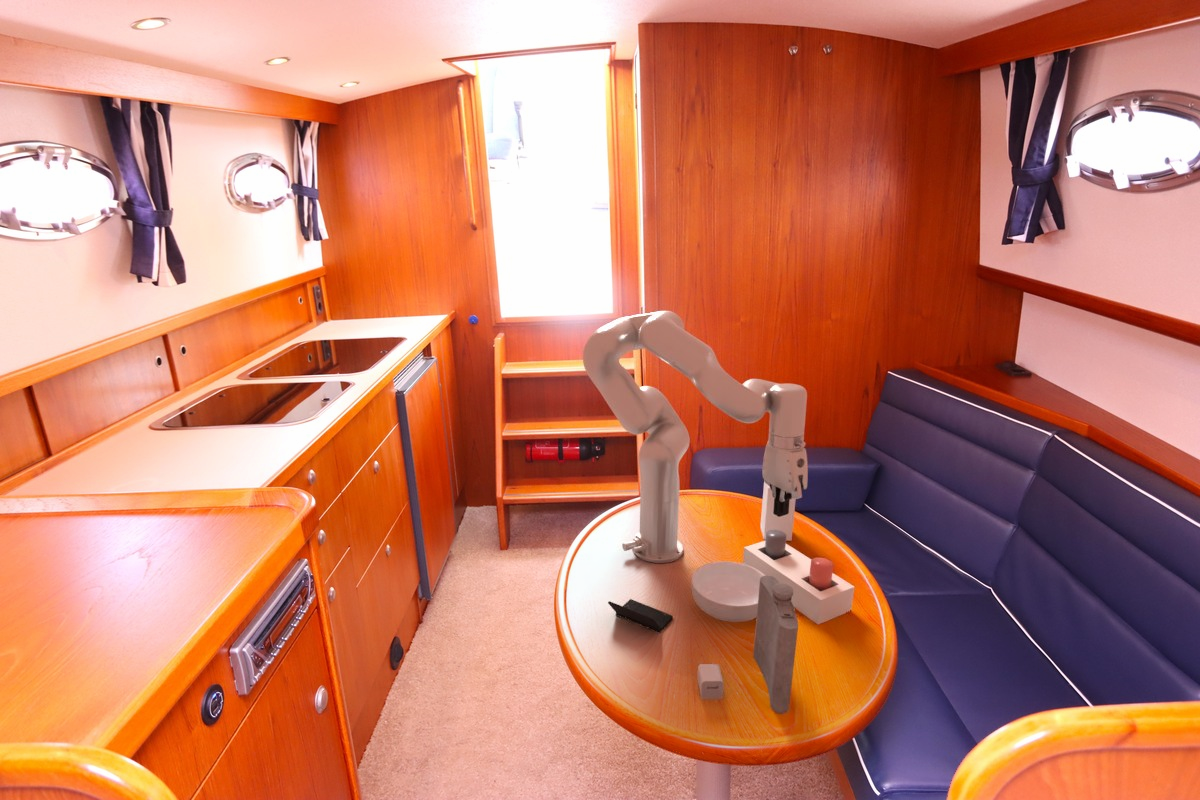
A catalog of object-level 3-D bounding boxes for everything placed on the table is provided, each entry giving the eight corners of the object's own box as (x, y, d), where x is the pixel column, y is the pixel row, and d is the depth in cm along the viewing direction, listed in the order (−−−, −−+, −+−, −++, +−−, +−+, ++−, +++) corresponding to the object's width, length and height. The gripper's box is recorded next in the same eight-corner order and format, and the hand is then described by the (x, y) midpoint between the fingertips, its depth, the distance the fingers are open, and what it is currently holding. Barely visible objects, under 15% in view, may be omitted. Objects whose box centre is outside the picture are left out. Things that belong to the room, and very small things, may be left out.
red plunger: (819, 593, 140) (822, 571, 138) (803, 583, 144) (806, 561, 142) (835, 587, 142) (838, 565, 141) (819, 577, 146) (821, 555, 144)
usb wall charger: (700, 699, 118) (701, 680, 117) (695, 672, 125) (696, 654, 123) (722, 699, 118) (724, 680, 117) (716, 672, 125) (717, 654, 123)
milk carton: (786, 528, 177) (793, 463, 172) (791, 541, 171) (798, 474, 165) (760, 526, 178) (765, 462, 172) (763, 540, 171) (769, 473, 166)
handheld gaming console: (676, 606, 141) (662, 589, 134) (669, 640, 138) (654, 623, 130) (627, 600, 147) (611, 582, 139) (619, 632, 143) (602, 615, 136)
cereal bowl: (682, 624, 138) (683, 595, 136) (698, 582, 153) (699, 555, 151) (764, 641, 133) (767, 612, 131) (773, 596, 148) (775, 569, 146)
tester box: (817, 624, 138) (820, 600, 136) (742, 569, 158) (743, 547, 156) (851, 610, 143) (854, 586, 141) (773, 558, 163) (775, 537, 161)
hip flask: (751, 652, 130) (759, 563, 124) (772, 652, 130) (780, 563, 124) (773, 713, 115) (782, 616, 109) (796, 713, 115) (807, 616, 109)
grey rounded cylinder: (773, 562, 152) (775, 541, 150) (760, 553, 156) (761, 532, 154) (788, 557, 154) (790, 536, 152) (774, 548, 158) (776, 528, 156)
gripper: (824, 446, 141) (817, 523, 147) (774, 426, 154) (770, 498, 159) (798, 453, 138) (792, 532, 143) (750, 432, 150) (746, 505, 156)
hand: (780, 514), depth 151 cm, fingers closed
